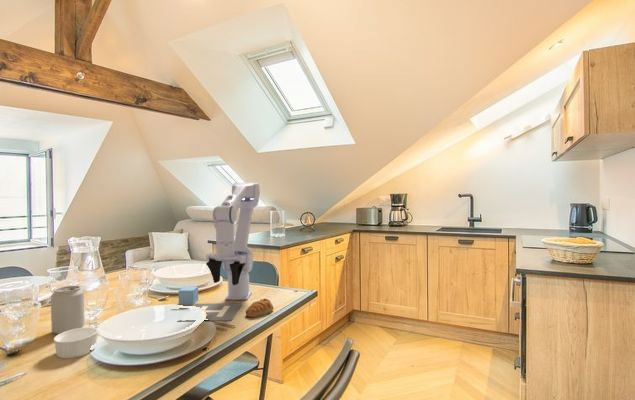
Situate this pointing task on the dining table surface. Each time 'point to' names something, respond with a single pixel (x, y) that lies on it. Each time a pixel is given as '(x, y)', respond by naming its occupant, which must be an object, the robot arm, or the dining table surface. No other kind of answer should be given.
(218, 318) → the board
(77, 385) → the dining table surface
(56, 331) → the can
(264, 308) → the pastry
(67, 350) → the ramekin
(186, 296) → the blue cube
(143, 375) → the dining table surface
